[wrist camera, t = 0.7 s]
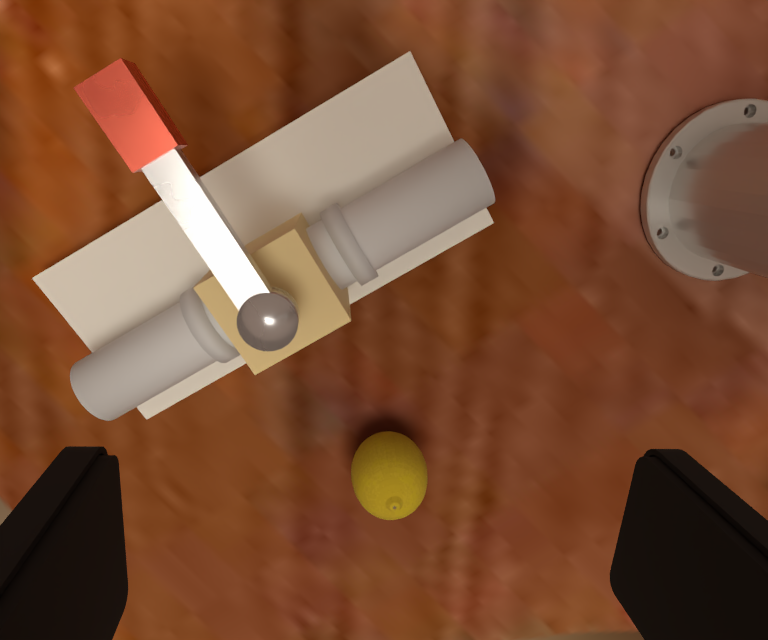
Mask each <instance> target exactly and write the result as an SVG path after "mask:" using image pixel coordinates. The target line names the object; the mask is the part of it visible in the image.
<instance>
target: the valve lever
mask: <svg viewBox="0 0 768 640" xmlns="http://www.w3.org/2000/svg"><path fill="white" fill-rule="evenodd" d="M74 89H75V91H76V92H77V94H78V95H79V97H80V98H81V99H82V101H83V102H84V104H85V105H86V107H87V108H88V109H89V111H90V112H91V114H92V115H93V117H94V118H95V120H96V121H97V122H98V124H99V125H100V127H101V128H102V130H103V131H104V132H105V134H106V135H107V137H108V138H109V140H110V141H111V143H112V144H113V145H114V147H115V148H116V150H117V151H118V153H119V154H120V155H121V157H122V158H123V160H124V161H125V163H126V164H127V166H128V167H129V168H130V170H131V171H132V173H135V172H141V171H143V172H144V174H145V175H146V177H147V178H148V180H149V181H150V183H151V184H152V185H153V187H154V188H155V190H156V191H157V193H158V194H159V196H160V197H161V199H162V200H163V201H164V203H165V204H166V206H167V207H168V209H169V210H170V212H171V213H172V215H173V216H174V217H175V219H176V220H177V222H178V223H179V225H180V226H181V228H182V229H183V231H184V232H185V233H186V235H187V236H188V238H189V239H190V241H191V242H192V244H193V245H194V246H195V248H196V249H197V251H198V252H199V254H200V255H201V257H202V258H203V260H204V261H205V262H206V264H207V265H208V267H209V268H210V270H211V271H212V273H213V274H214V276H215V277H216V278H217V280H218V281H219V283H220V284H221V286H222V287H223V289H224V290H225V291H226V293H227V294H228V296H229V297H230V299H231V300H232V302H233V303H234V305H235V306H236V307H237V309H238V310H239V312H238V315H237V329H238V332H239V334H240V336H241V337H242V339H243V340H244V341H245V342H246V343H247V344H248V345H249V346H251V347H253V348H255V349H257V350H260V351H276V350H279V349H282V348H284V347H285V346H287V345H288V344H289V343H290V342H291V341H292V340H293V338H294V337H295V335H296V332H297V328H298V323H299V316H300V313H299V307H298V305H297V303H296V301H295V299H294V298H293V297H292V296H291V295H290V294H289V293H288V292H286V291H285V290H283V289H281V288H277V287H271V286H270V284H269V283H268V281H267V280H266V278H265V276H264V275H263V273H262V272H261V270H260V269H259V267H258V266H257V264H256V263H255V261H254V260H253V258H252V257H251V255H250V254H249V252H248V251H247V249H246V247H245V246H244V244H243V243H242V241H241V240H240V238H239V237H238V235H237V234H236V232H235V231H234V229H233V228H232V226H231V225H230V223H229V222H228V220H227V219H226V217H225V215H224V214H223V212H222V211H221V209H220V208H219V206H218V205H217V203H216V202H215V200H214V199H213V197H212V196H211V194H210V193H209V191H208V190H207V188H206V187H205V185H204V183H203V182H202V180H201V179H200V177H199V176H198V174H197V173H196V171H195V170H194V168H193V167H192V165H191V164H190V162H189V161H188V159H187V158H186V156H185V154H184V153H183V151H182V150H181V149H182V148H184V147H185V146H187V145H188V144H187V143H186V141H185V140H184V138H183V137H182V135H181V133H180V132H179V130H178V129H177V127H176V126H175V124H174V123H173V121H172V120H171V118H170V117H169V115H168V113H167V112H166V110H165V109H164V107H163V106H162V104H161V103H160V101H159V100H158V98H157V97H156V95H155V93H154V92H153V90H152V89H151V87H150V86H149V84H148V83H147V81H146V80H145V78H144V77H143V75H142V73H141V72H140V70H139V69H138V67H137V66H136V64H135V63H132V62H130V61H127V60H125V59H122V58H120V59H118V60H117V61H115V62H114V63H112V64H110V65H109V66H107V67H106V68H104V69H102V70H101V71H99V72H98V73H96V74H94V75H93V76H91V77H90V78H88V79H87V80H85V81H83V82H82V83H80V84H79V85H77V86H75V87H74Z"/></svg>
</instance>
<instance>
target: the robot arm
mask: <svg viewBox="0 0 768 640" xmlns="http://www.w3.org/2000/svg"><path fill="white" fill-rule="evenodd" d="M670 151H672V153H671V155H670ZM640 210H641V218H642V226H643V229H644V232H645V235H646V238H647V240H648V242H649V244H650V245H651V247H652V249H653V251H654V252H655V254H656V255H657V256H658V257H659V258H660V259H661V260H662V261H663V262H664V263H665V264H667V265H668V266H670V267H671V268H673V269H674V270H676V271H678V272H680V273H683V274H685V275H688V276H690V277H694V278H698V279H702V280H711V281H720V280H726V279H733V278H737V277H740V276H743V275H745V274H748V273H753V274H756V275H760V276H763V277H766V278H768V101H766V100H761V99H737V100H730V101H723V102H720V103H717V104H714V105H711V106H708V107H706V108H704V109H702V110H700V111H698V112H697V113H695V114H693V115H691V116H690V117H689V118H687V119H686V120H685V121H684V122H682V123H681V124H680V125H679V126H677V127H676V128H675V129H674V130H673V132H672V133H671V134H670V135H669V136H668V137H667V138H666V139H665V141H664V142H663V143H662V145H661V146H660V148H659V149H658V151H657V153H656V154H655V156H654V157H653V159H652V162H651V164H650V166H649V169H648V171H647V173H646V176H645V180H644V184H643V188H642V193H641V208H640ZM658 230H659V231H658ZM657 231H658V233H657ZM610 583H611V587H612V590H613V592H614V594H615V596H616V597H617V599H618V600H619V602H620V603H621V605H622V606H623V608H624V609H625V611H626V612H627V614H628V615H629V617H630V618H631V620H632V621H633V623H634V624H635V626H636V628H637V629H638V631H639V632H640V634H641V635H642V637H643V638H644V640H768V521H767V520H766V519H765V518H764V517H763V516H761V515H760V514H759V513H758V512H757V511H755V510H754V509H753V508H752V507H751V506H749V505H748V504H747V503H746V502H745V501H743V500H742V499H741V498H740V497H739V496H738V495H736V494H735V493H734V492H733V491H732V490H730V489H729V488H728V487H727V486H726V485H724V484H723V483H722V482H721V481H720V480H718V479H717V478H716V477H715V476H714V475H712V474H711V473H710V472H709V471H708V470H706V469H705V468H704V467H703V466H702V465H700V464H699V463H698V462H697V461H696V460H695V459H693V458H692V457H691V456H690V455H689V454H687V453H686V452H685V451H683V450H680V449H650V450H648V451H647V452H646V453H645V454H644V456H643V457H640V458H639V459H638V460H637V462H636V465H635V469H634V473H633V477H632V482H631V486H630V490H629V494H628V499H627V503H626V507H625V511H624V515H623V520H622V524H621V528H620V532H619V537H618V541H617V545H616V549H615V554H614V558H613V562H612V566H611V570H610ZM127 595H128V578H127V565H126V552H125V539H124V526H123V513H122V499H121V486H120V473H119V462H118V458H117V457H116V456H115V455H108V454H107V451H106V449H105V448H104V447H65V448H64V449H63V450H62V451H61V452H60V453H59V455H58V456H57V457H56V458H55V459H54V461H53V462H52V463H51V464H50V466H49V467H48V468H47V469H46V470H45V472H44V473H43V474H42V475H41V477H40V478H39V479H38V480H37V481H36V483H35V484H34V485H33V486H32V488H31V489H30V490H29V491H28V492H27V494H26V495H25V496H24V497H23V499H22V500H21V501H20V502H19V503H18V505H17V506H16V507H15V508H14V510H13V511H12V512H11V513H10V514H9V516H8V517H7V518H6V519H5V521H4V522H3V523H2V524H1V525H0V640H112V639H113V636H114V634H115V631H116V629H117V626H118V624H119V621H120V619H121V616H122V614H123V612H124V609H125V605H126V601H127Z"/></svg>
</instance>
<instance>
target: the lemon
mask: <svg viewBox="0 0 768 640" xmlns="http://www.w3.org/2000/svg"><path fill="white" fill-rule="evenodd" d="M351 480H352V484H353V488H354V492H355V494H356V496H357V498H358V500H359V501H360V503H361V504H362V506H363V507H364V508H365V509H366V510H367V511H368V512H369V513H370V514H372V515H374V516H376V517H378V518H381V519H385V520H395V519H401V518H403V517H406V516H408V515H409V514H411V513H412V512H414V510H415V509H416V508H417V507H418V506H419V505H420V503H421V502H422V500H423V498H424V496H425V492H426V487H427V466H426V463H425V460H424V457H423V455H422V452H421V451H420V449H419V448H418V447H417V445H416V444H415V443H414V442H413V441H412V440H411V439H409V438H408V437H407V436H405V435H403V434H400V433H397V432H391V431H385V432H379V433H376V434H374V435H372V436H370V437H368V438H367V439H366V440H365V441H364V442H362V443H361V445H360V446H359V448H358V449H357V451H356V452H355V455H354V458H353V461H352V466H351Z"/></svg>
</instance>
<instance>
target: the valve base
mask: <svg viewBox="0 0 768 640" xmlns="http://www.w3.org/2000/svg"><path fill="white" fill-rule="evenodd" d="M200 179H201V180H202V182H203V183H204V185H205V187H206V188H207V190H208V191H209V193H210V194H211V196H212V197H213V199H214V200H215V202H216V203H217V205H218V206H219V208H220V209H221V211H222V212H223V214H224V215H225V217H226V219H227V220H228V222H229V223H230V225H231V226H232V228H233V229H234V231H235V232H236V234H237V235H238V237H239V238H240V240H241V241H242V243H243V244H244V246H245V247H246V249H247V251H248V252H249V254H250V255H251V257H252V258H253V260H254V261H255V263H256V264H257V266H258V267H259V269H260V270H261V272H262V273H263V275H264V276H265V278H266V280H267V281H268V283H269V284H270V286H271V287H277V288H281V289H283V290H285V291H286V292H288V293H289V294H290V295H291V296H292V297H293V298H294V299H295V301H296V303H297V305H298V307H299V313H300V316H299V323H298V328H297V332H296V335H295V337H294V338H293V340H292V341H291V342H290V343H289V344H288V345H287V346H285V347H284V348H282V349H279V350H276V351H260V350H257V349H255V348H253V347H251V346H249V345H248V344H247V343H246V342H245V341H244V340H243V339H242V337H241V336H240V334H239V332H238V329H237V315H238V312H239V310H238V309H237V307H236V306H235V305H234V303H233V302H232V300H231V299H230V297H229V296H228V294H227V293H226V291H225V290H224V289H223V287H222V286H221V284H220V283H219V281H218V280H217V278H216V277H215V276H214V274H213V273H212V271H211V270H210V268H209V267H208V265H207V264H206V262H205V261H204V260H203V258H202V257H201V255H200V254H199V252H198V251H197V249H196V248H195V246H194V245H193V244H192V242H191V241H190V239H189V238H188V236H187V235H186V233H185V232H184V231H183V229H182V228H181V226H180V225H179V223H178V222H177V220H176V219H175V217H174V216H173V215H172V213H171V212H170V210H169V209H168V207H167V206H166V204H165V203H164V201H163V200H161V201H160V202H158V203H156V204H155V205H153V206H151V207H150V208H148V209H146V210H145V211H143V212H141V213H140V214H138V215H136V216H135V217H133V218H131V219H130V220H128V221H126V222H125V223H123V224H121V225H120V226H118V227H116V228H115V229H113V230H111V231H110V232H108V233H106V234H105V235H103V236H101V237H100V238H98V239H96V240H95V241H93V242H91V243H90V244H88V245H86V246H85V247H83V248H81V249H80V250H78V251H76V252H75V253H73V254H71V255H70V256H68V257H66V258H65V259H63V260H61V261H60V262H58V263H56V264H55V265H53V266H51V267H50V268H48V269H46V270H45V271H43V272H41V273H40V274H38V275H36V276H35V277H33V278H32V279H33V280H34V281H35V282H36V284H37V285H38V286H39V287H40V289H41V290H42V291H43V292H44V294H45V295H46V296H47V297H48V298H49V300H50V301H51V302H52V303H53V305H54V306H55V307H56V308H57V310H58V311H59V312H60V313H61V314H62V316H63V317H64V318H65V319H66V321H67V322H68V323H69V324H70V326H71V327H72V328H73V329H74V331H75V332H76V333H77V334H78V335H79V337H80V338H81V339H82V340H83V342H84V343H85V344H86V345H87V347H88V348H89V349H90V350H91V352H92V353H91V354H90V355H88V356H86V357H85V358H83V359H81V360H79V361H78V362H76V363H75V364H74V365H73V366H72V368H71V372H70V380H71V385H72V388H73V391H74V393H75V395H76V397H77V398H78V400H79V401H80V403H81V404H82V405H83V406H84V408H85V409H86V410H87V411H89V412H90V413H91V414H92V415H94V416H95V417H97V418H99V419H102V420H106V421H110V420H114V419H116V418H118V417H120V416H121V415H123V414H125V413H127V412H128V411H130V410H132V409H134V408H135V407H137V408H138V410H139V411H140V412H141V413H142V414H143V416H144V417H145V418H146V419H149V418H150V417H152V416H154V415H156V414H157V413H159V412H161V411H163V410H164V409H166V408H168V407H170V406H171V405H173V404H175V403H177V402H179V401H180V400H182V399H184V398H186V397H187V396H189V395H191V394H193V393H194V392H196V391H198V390H200V389H202V388H203V387H205V386H207V385H209V384H210V383H212V382H214V381H216V380H217V379H219V378H221V377H223V376H224V375H226V374H228V373H230V372H232V371H233V370H235V369H237V368H239V367H240V366H242V365H244V364H246V363H247V365H248V366H249V367H250V369H251V370H252V372H253V373H254V375H256V374H258V373H260V372H261V371H263V370H265V369H267V368H268V367H270V366H272V365H274V364H276V363H277V362H279V361H281V360H283V359H284V358H286V357H288V356H290V355H292V354H293V353H295V352H297V351H299V350H300V349H302V348H304V347H306V346H307V345H309V344H311V343H313V342H315V341H316V340H318V339H320V338H322V337H323V336H325V335H327V334H329V333H331V332H332V331H334V330H336V329H338V328H339V327H341V326H343V325H345V324H347V323H348V322H350V321H351V312H350V304H352V303H353V302H355V301H357V300H359V299H360V298H362V297H364V296H366V295H367V294H369V293H371V292H373V291H375V290H376V289H378V288H380V287H382V286H383V285H385V284H387V283H389V282H390V281H392V280H394V279H396V278H398V277H399V276H401V275H403V274H405V273H406V272H408V271H410V270H412V269H413V268H415V267H417V266H419V265H420V264H422V263H424V262H426V261H428V260H429V259H431V258H433V257H435V256H436V255H438V254H440V253H442V252H443V251H445V250H447V249H449V248H450V247H452V246H454V245H456V244H458V243H459V242H461V241H463V240H465V239H466V238H468V237H470V236H472V235H473V234H475V233H477V232H479V231H481V230H482V229H484V228H486V227H488V226H489V225H491V224H493V223H494V222H493V220H492V218H491V216H490V214H489V212H488V210H487V207H488V206H490V205H492V204H494V203H495V195H494V192H493V188H492V186H491V183H490V181H489V178H488V176H487V174H486V172H485V170H484V168H483V166H482V164H481V162H480V161H479V159H478V157H477V156H476V154H475V153H474V151H473V150H472V148H471V147H470V146H469V144H468V143H467V142H466V141H465V140H463V139H459V140H457V141H455V142H454V140H453V138H452V136H451V134H450V132H449V130H448V128H447V126H446V124H445V122H444V120H443V118H442V115H441V113H440V111H439V109H438V107H437V105H436V103H435V101H434V99H433V97H432V95H431V93H430V91H429V89H428V87H427V85H426V83H425V81H424V79H423V76H422V74H421V72H420V70H419V68H418V66H417V64H416V62H415V60H414V58H413V56H412V54H411V52H410V51H409V52H408V53H406V54H404V55H403V56H401V57H399V58H398V59H396V60H394V61H393V62H391V63H389V64H388V65H386V66H384V67H383V68H381V69H379V70H378V71H376V72H374V73H373V74H371V75H369V76H368V77H366V78H364V79H363V80H361V81H359V82H358V83H356V84H354V85H353V86H351V87H349V88H348V89H346V90H344V91H343V92H341V93H339V94H338V95H336V96H334V97H333V98H331V99H329V100H328V101H326V102H324V103H323V104H321V105H319V106H318V107H316V108H314V109H313V110H311V111H309V112H308V113H306V114H304V115H303V116H301V117H299V118H298V119H296V120H294V121H293V122H291V123H289V124H288V125H286V126H284V127H283V128H281V129H279V130H278V131H276V132H275V133H273V134H271V135H270V136H268V137H266V138H265V139H263V140H261V141H260V142H258V143H256V144H255V145H253V146H251V147H250V148H248V149H246V150H245V151H243V152H241V153H240V154H238V155H236V156H235V157H233V158H231V159H230V160H228V161H226V162H225V163H223V164H221V165H220V166H218V167H216V168H215V169H213V170H211V171H210V172H208V173H206V174H205V175H203V176H201V177H200Z"/></svg>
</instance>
